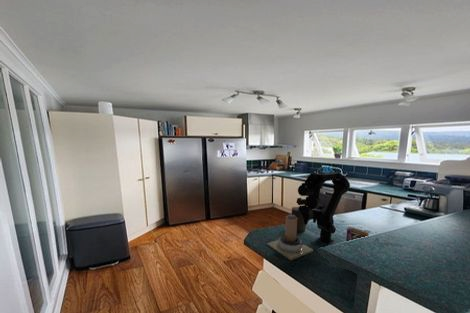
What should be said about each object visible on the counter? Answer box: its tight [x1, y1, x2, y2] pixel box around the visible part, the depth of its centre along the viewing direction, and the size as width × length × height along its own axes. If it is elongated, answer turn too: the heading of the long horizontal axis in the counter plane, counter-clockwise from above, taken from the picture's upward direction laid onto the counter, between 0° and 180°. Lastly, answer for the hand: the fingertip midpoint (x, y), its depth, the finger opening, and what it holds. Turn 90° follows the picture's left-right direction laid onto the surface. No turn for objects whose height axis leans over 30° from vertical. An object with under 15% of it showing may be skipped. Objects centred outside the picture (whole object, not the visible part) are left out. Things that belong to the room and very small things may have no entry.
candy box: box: [345, 226, 370, 242], centre depth 103 cm, size 9×4×15 cm, turn 47°
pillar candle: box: [290, 206, 307, 233], centre depth 138 cm, size 10×10×15 cm
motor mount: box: [267, 234, 314, 261], centre depth 113 cm, size 17×17×5 cm
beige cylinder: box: [284, 213, 298, 242], centre depth 112 cm, size 6×6×14 cm
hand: (309, 223), depth 115 cm, fingers open, 9 cm apart
